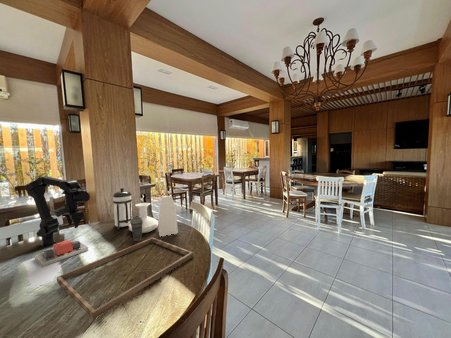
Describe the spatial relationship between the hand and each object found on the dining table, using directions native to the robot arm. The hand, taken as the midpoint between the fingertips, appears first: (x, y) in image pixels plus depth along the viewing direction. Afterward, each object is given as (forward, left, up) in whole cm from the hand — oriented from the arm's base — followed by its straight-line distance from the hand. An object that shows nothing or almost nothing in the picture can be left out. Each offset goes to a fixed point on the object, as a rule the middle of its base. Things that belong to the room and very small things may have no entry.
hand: (73, 226), depth 118 cm
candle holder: (+14, +38, -12) cm, 42 cm away
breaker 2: (+9, -2, -10) cm, 14 cm away
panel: (+7, -8, -12) cm, 16 cm away
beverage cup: (+25, +26, -12) cm, 38 cm away
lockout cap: (+9, -8, -10) cm, 15 cm away
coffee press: (-5, +34, -12) cm, 36 cm away
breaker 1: (+9, -14, -10) cm, 19 cm away
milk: (+32, +45, -12) cm, 57 cm away
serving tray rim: (+53, +6, -12) cm, 55 cm away
